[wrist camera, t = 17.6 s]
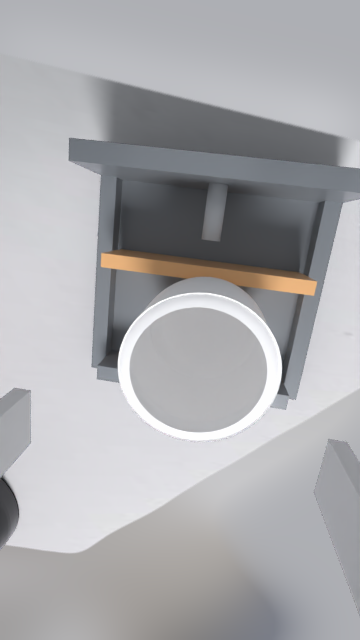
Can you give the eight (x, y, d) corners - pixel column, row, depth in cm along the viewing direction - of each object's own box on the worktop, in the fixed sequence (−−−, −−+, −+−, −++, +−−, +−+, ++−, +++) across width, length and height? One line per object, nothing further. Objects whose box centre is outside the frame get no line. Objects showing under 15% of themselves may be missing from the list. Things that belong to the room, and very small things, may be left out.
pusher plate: (297, 284, 33) (314, 295, 28) (120, 260, 35) (100, 267, 29) (300, 272, 33) (317, 281, 27) (121, 249, 34) (101, 252, 29)
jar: (233, 248, 33) (243, 263, 19) (271, 338, 35) (307, 413, 21) (140, 291, 36) (87, 333, 21) (181, 373, 38) (158, 463, 23)
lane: (289, 386, 38) (314, 440, 28) (100, 356, 39) (62, 398, 30) (335, 188, 32) (385, 171, 22) (111, 163, 34) (69, 137, 24)
